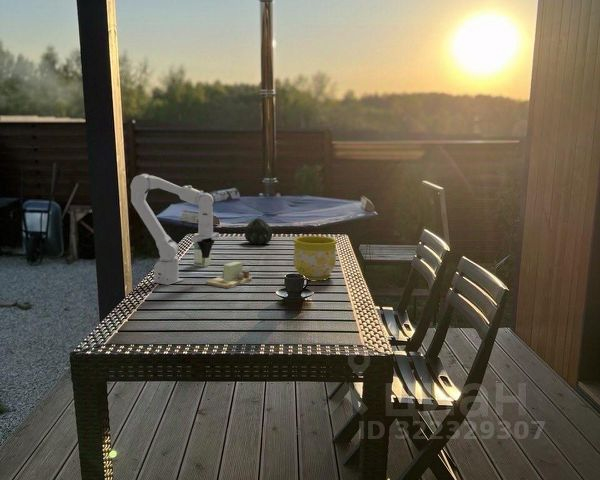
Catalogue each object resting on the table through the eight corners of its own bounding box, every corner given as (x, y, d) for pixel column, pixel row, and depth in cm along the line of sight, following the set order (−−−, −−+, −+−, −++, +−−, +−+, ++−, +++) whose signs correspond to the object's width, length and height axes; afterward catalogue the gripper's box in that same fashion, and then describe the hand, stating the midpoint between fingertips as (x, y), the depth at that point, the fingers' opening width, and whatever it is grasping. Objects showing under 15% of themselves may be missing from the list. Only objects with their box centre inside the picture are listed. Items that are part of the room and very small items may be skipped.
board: (228, 288, 227) (228, 279, 227) (205, 284, 233) (205, 275, 232) (251, 280, 241) (252, 271, 240) (230, 276, 246) (230, 267, 246)
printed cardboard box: (193, 265, 264) (193, 233, 261) (201, 263, 269) (201, 232, 266) (203, 267, 261) (203, 235, 259) (211, 264, 266) (211, 233, 264)
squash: (264, 230, 331) (250, 211, 322) (281, 235, 321) (268, 216, 312) (248, 248, 326) (234, 230, 317) (265, 254, 315) (251, 235, 306)
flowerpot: (327, 285, 236) (329, 245, 234) (286, 280, 242) (287, 241, 240) (340, 275, 253) (342, 238, 250) (301, 271, 259) (302, 234, 256)
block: (230, 280, 234) (230, 266, 233) (223, 279, 236) (223, 264, 235) (242, 276, 241) (242, 262, 240) (235, 275, 243) (235, 261, 242)
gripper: (201, 227, 224) (201, 262, 227) (225, 222, 236) (224, 255, 239) (187, 225, 228) (187, 259, 230) (211, 221, 240) (211, 253, 242)
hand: (205, 257), depth 235 cm, fingers closed
